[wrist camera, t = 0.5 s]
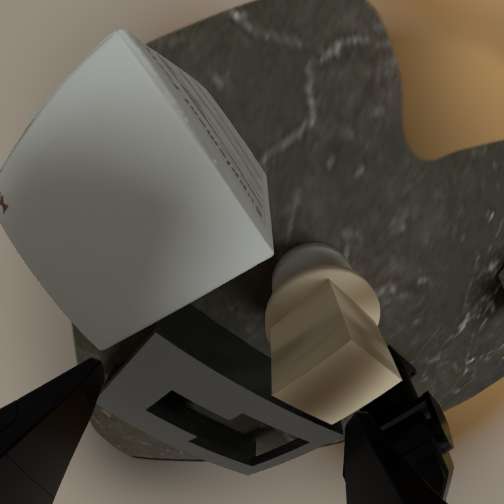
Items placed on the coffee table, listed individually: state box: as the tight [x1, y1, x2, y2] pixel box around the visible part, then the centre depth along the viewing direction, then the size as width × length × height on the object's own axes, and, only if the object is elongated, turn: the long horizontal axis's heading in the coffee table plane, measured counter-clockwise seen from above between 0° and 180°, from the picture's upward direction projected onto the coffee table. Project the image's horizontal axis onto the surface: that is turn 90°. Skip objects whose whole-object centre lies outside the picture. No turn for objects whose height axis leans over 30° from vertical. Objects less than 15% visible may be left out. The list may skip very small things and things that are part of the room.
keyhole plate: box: [96, 303, 343, 475], centre depth 25 cm, size 20×14×5 cm
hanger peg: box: [265, 243, 402, 424], centre depth 17 cm, size 7×7×10 cm
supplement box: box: [0, 29, 274, 350], centre depth 12 cm, size 7×7×13 cm
